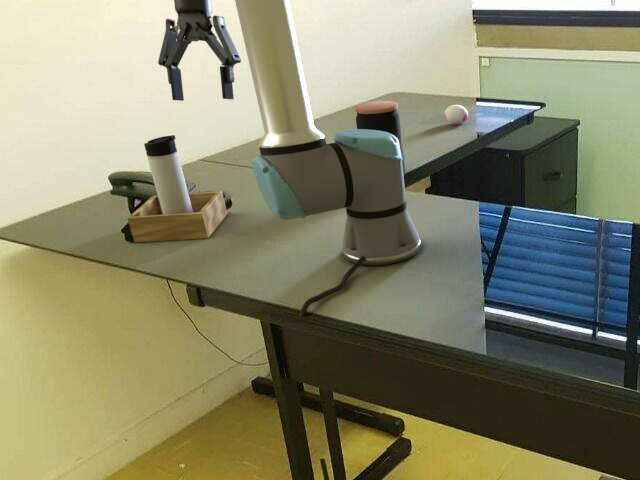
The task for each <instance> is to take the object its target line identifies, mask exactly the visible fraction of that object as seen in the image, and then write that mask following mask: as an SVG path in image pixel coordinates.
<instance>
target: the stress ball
mask: <svg viewBox="0 0 640 480" xmlns="http://www.w3.org/2000/svg"><path fill="white" fill-rule="evenodd" d="M444 118H445V119H446V120H447V122H448V123H451V124H453V125H452V126H453V127H456V125H460V124H463V123H466V121H467V120H468V118H469V111H468V109H467V108H466V107H464V105H460V104H451V105H449V106H448V107H447V108H446V109H445V111H444Z"/></svg>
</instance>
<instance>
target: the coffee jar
mask: <svg viewBox="0 0 640 480" xmlns="http://www.w3.org/2000/svg"><path fill="white" fill-rule="evenodd" d="M353 109H354V112H355V113H356V117H355V123H356V129H367V130H378V131H384V132H388V133H391V134H393V135H394V136H395V137H396V138H397V139H398V141H399V146H400V152H401V157H402V158H403V160H402V166H403V176H404V177H405V175H406V172H407V171H406V163H405V154H404V153H405V152H404V145H403V136H402V128H401V119H400V113H399V112H398V111H397V110H398V109H399V103H398V102H396V101H393V100H375V101H374V100H373V101H367V102H362V103H359V104H357V105H355V106H354V107H353Z"/></svg>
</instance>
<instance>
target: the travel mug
mask: <svg viewBox="0 0 640 480" xmlns="http://www.w3.org/2000/svg"><path fill="white" fill-rule="evenodd" d="M176 139H177V138H176V135H174V134H171V135H164V136H160V137H157V138H156V137H155V138H153V139H150V140H147V142H145V143H143V145H144V149H145V151H146V153H145V154H146V157H147V162H148V165H149V169H150V172H151V175H152V180H153V184H154V186H155V190H156V191H155V192H156V194H157V195H158V198H159V202H160V205H161V209H162V212H163V215H164V214H179V213H193V210H192V206H191V202H190V198H189V194H188V193H189V190H188V186H187V183H186V180H185V176H184V175H185V174H184V172H183V168H182V164H181V160H180V157H179V156H180V155H179V152H178V149H177V147H176V146H177V145H176V141H175V140H176Z"/></svg>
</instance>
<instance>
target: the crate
mask: <svg viewBox="0 0 640 480" xmlns="http://www.w3.org/2000/svg"><path fill="white" fill-rule="evenodd" d="M188 194H189V198H190V202H191V206H192V210H193V213H179V214H164V215H163V212H162V209H161V205H160V202H159V198H158V194H157V195H152V196H151V197H150V198H149V199H147V200H146V201H145V202H144V203H142V205H140V206H139V207H138V208H137V209H136V210H135V211H133V213H131V214H130V215H129V216H128V217H127V218H126V219H127V221H128V225H129V229H130V231H131V235H132V238H133V242H134V243H151V242H167V241H181V240H183V241H185V240H195V239H196V240H197V239H209V237H210V236H211V235H212V234H213V233H214V231H215V230H216V229H217V228H218V226H219V225H220V224H221V222H223V220H224V219H225V218H226V217H227V215H228V211H227V206H226V202H225V198H224V197H225V196H224V193H223V191H222V190H215V191H200V192H188Z"/></svg>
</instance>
